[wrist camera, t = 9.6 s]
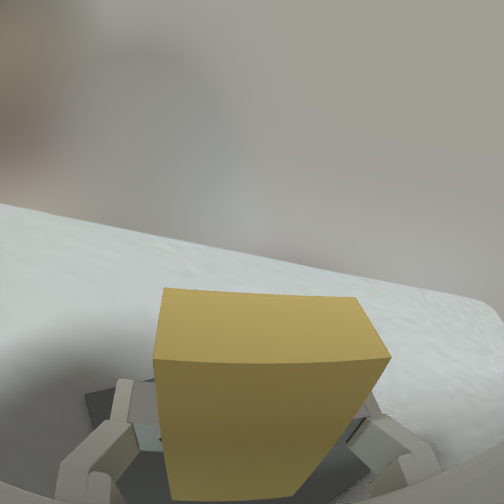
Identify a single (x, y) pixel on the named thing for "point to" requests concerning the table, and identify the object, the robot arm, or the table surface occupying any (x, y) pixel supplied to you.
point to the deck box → (257, 388)
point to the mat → (159, 500)
